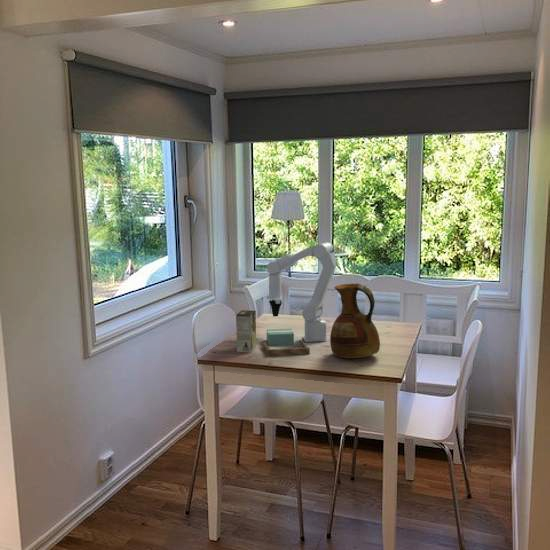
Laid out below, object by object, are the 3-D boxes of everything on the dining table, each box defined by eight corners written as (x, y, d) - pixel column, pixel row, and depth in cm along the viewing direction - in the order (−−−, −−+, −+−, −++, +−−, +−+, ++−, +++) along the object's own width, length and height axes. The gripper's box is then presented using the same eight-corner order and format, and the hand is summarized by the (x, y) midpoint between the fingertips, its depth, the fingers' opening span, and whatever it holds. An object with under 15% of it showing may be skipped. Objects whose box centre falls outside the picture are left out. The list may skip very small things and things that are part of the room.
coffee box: (242, 346, 257) (241, 309, 255) (256, 346, 256) (256, 310, 253) (236, 352, 248) (235, 314, 246) (251, 352, 247) (250, 315, 244)
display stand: (302, 344, 258) (302, 339, 258) (309, 354, 245) (309, 348, 244) (262, 346, 256) (262, 341, 255) (267, 356, 242) (267, 350, 241)
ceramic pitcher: (337, 347, 254) (337, 278, 249) (384, 352, 247) (385, 281, 242) (323, 360, 236) (324, 286, 231) (374, 365, 229) (375, 289, 224)
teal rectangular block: (291, 339, 268) (291, 328, 268) (294, 344, 260) (294, 333, 259) (266, 340, 267) (266, 329, 266) (268, 345, 258) (268, 334, 258)
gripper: (264, 284, 278) (264, 313, 280) (269, 290, 264) (269, 320, 266) (279, 284, 279) (279, 312, 281) (284, 289, 265) (284, 319, 267)
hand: (275, 316), depth 274 cm, fingers closed
